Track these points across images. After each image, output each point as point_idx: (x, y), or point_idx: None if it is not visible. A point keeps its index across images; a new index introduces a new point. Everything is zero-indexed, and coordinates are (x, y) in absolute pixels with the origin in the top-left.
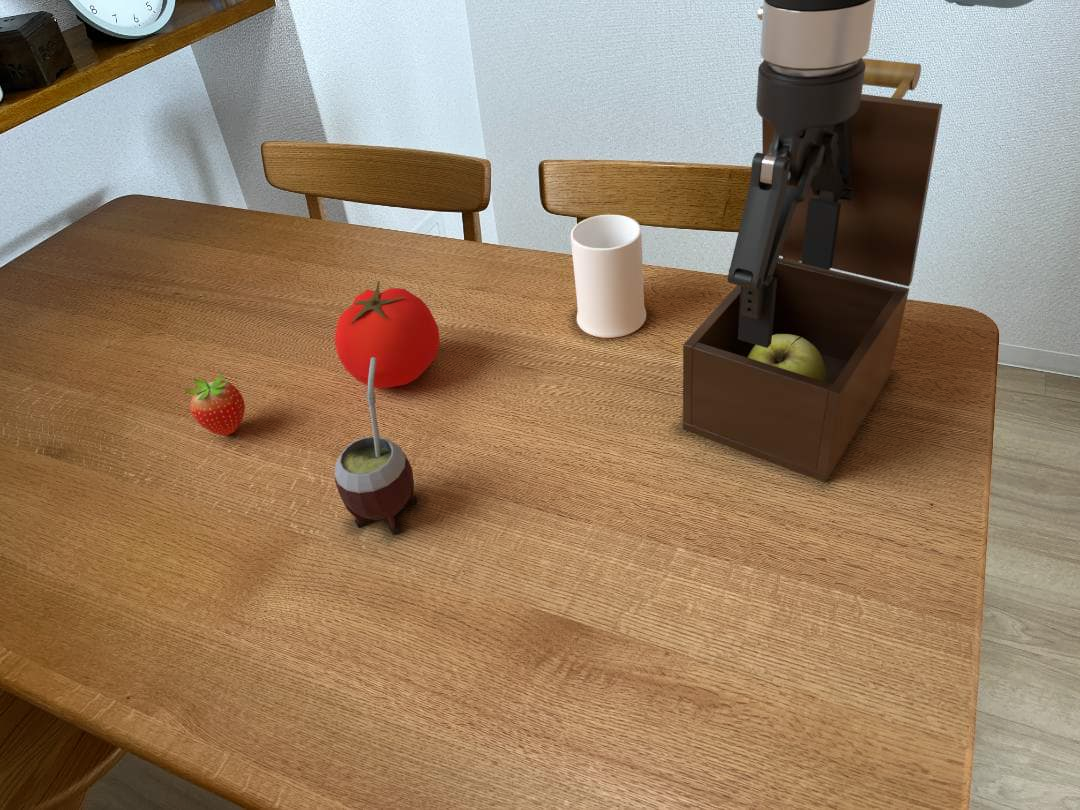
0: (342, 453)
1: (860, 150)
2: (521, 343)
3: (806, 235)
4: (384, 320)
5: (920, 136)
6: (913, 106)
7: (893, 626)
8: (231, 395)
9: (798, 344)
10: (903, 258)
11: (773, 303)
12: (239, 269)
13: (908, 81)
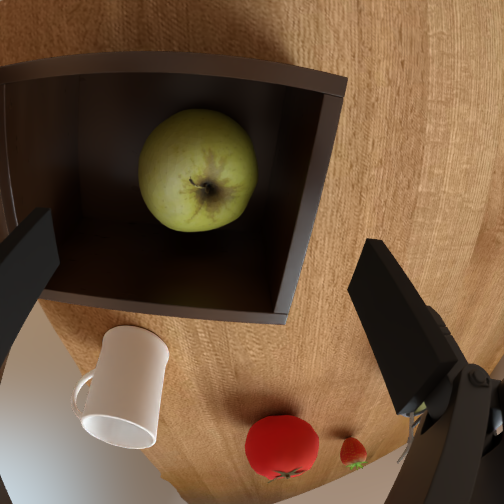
0: (418, 414)
1: None
2: (208, 386)
3: (30, 306)
4: (300, 465)
5: None
6: None
7: (445, 9)
8: (354, 457)
9: (182, 175)
10: None
11: (418, 308)
12: (220, 482)
13: None
